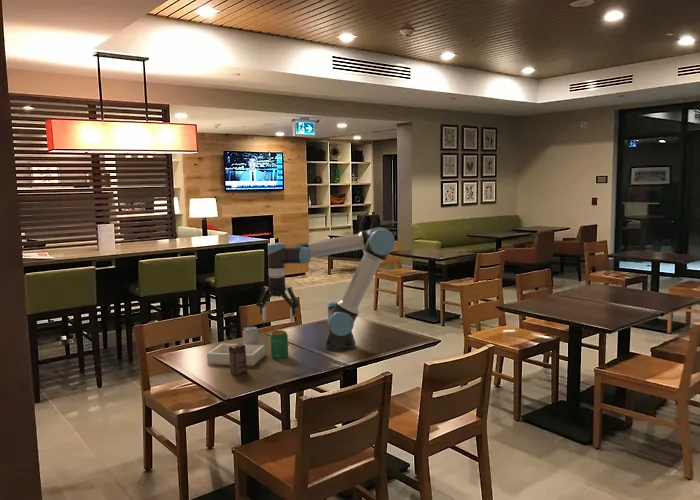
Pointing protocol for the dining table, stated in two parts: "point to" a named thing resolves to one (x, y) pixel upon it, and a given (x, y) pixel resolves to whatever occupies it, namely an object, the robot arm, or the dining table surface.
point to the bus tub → (222, 356)
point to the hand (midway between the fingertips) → (278, 321)
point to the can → (251, 336)
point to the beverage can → (279, 345)
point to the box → (237, 359)
